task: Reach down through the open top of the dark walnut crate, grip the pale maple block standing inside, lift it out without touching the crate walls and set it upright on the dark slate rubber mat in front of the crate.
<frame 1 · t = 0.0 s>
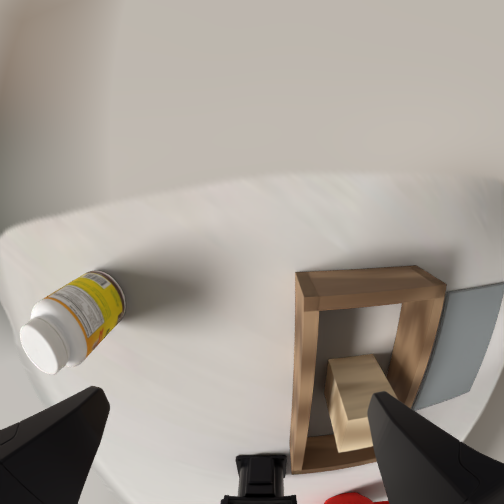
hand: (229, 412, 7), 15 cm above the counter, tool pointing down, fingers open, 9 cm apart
walnut crate: (348, 374, 24), on the counter
ceramic cup: (352, 495, 32), on the counter
supplement bottle: (104, 295, 23), on the counter
slate mat: (461, 350, 23), on the counter
maple block: (358, 400, 20), in the walnut crate
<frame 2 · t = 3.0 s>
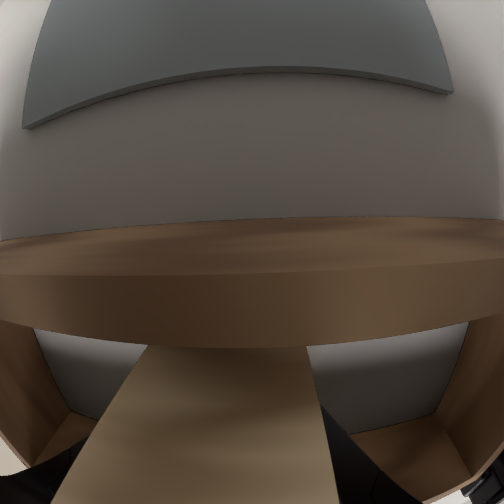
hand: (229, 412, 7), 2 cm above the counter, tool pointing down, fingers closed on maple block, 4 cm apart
walnut crate: (235, 373, 9), on the counter
maple block: (222, 461, 5), in the walnut crate, touching gripper
when the fingers open (4 cm above the counter, at t = 8.2 s): maple block drops 1 cm, resting on slate mat.
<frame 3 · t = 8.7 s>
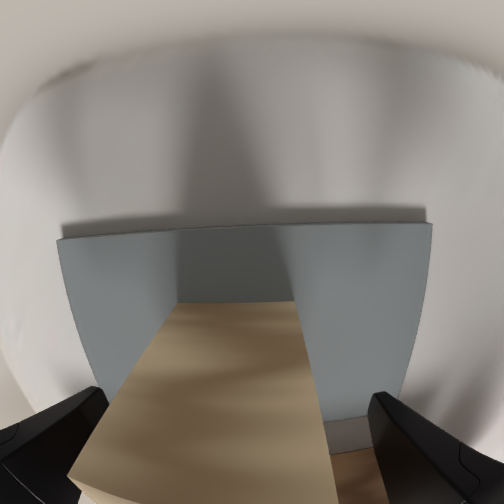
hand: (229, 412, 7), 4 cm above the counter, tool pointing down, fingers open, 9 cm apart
walnut crate: (254, 491, 15), on the counter
slate mat: (239, 344, 11), on the counter
maple block: (227, 424, 7), on the slate mat
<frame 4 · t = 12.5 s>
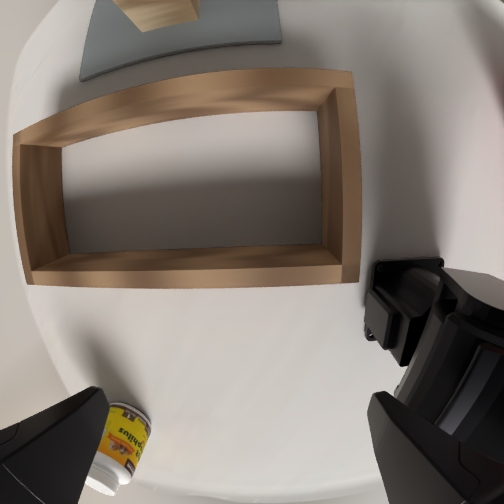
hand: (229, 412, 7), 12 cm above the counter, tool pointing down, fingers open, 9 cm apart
walnut crate: (170, 184, 18), on the counter
supplement bottle: (130, 416, 24), on the counter
slate mat: (173, 8, 14), on the counter
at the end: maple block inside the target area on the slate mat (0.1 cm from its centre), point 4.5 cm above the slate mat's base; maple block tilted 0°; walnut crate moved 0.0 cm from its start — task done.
